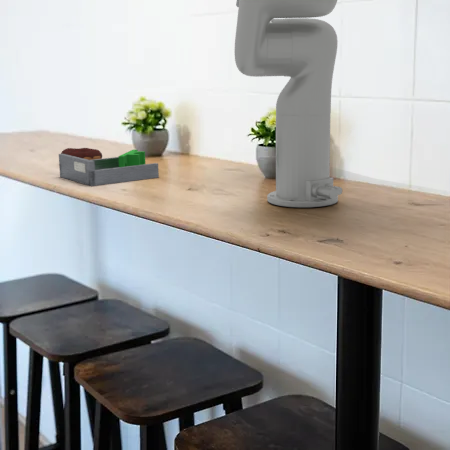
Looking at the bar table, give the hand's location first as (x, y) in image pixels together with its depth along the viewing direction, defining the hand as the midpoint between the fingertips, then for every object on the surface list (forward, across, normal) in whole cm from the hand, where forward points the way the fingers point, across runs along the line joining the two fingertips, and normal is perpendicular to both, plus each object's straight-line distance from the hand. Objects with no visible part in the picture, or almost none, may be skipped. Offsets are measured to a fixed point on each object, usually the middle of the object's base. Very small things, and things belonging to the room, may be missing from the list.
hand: (258, 36), depth 164 cm
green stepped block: (+30, -20, +20) cm, 41 cm away
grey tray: (+29, -28, +17) cm, 44 cm away
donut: (+30, -24, +39) cm, 54 cm away
